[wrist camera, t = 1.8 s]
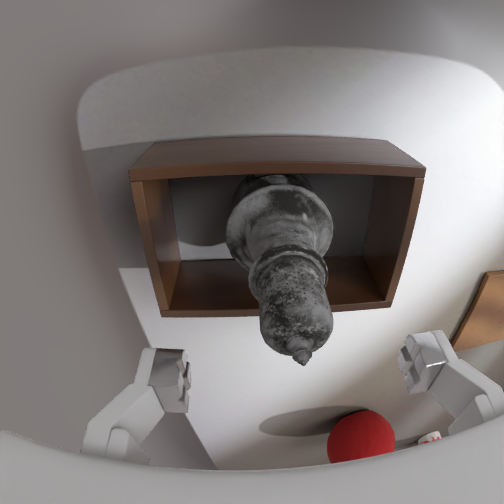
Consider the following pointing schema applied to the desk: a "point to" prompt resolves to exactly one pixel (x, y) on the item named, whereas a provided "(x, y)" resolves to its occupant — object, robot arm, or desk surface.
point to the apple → (360, 437)
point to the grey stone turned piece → (284, 259)
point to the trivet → (483, 315)
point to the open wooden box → (275, 162)
